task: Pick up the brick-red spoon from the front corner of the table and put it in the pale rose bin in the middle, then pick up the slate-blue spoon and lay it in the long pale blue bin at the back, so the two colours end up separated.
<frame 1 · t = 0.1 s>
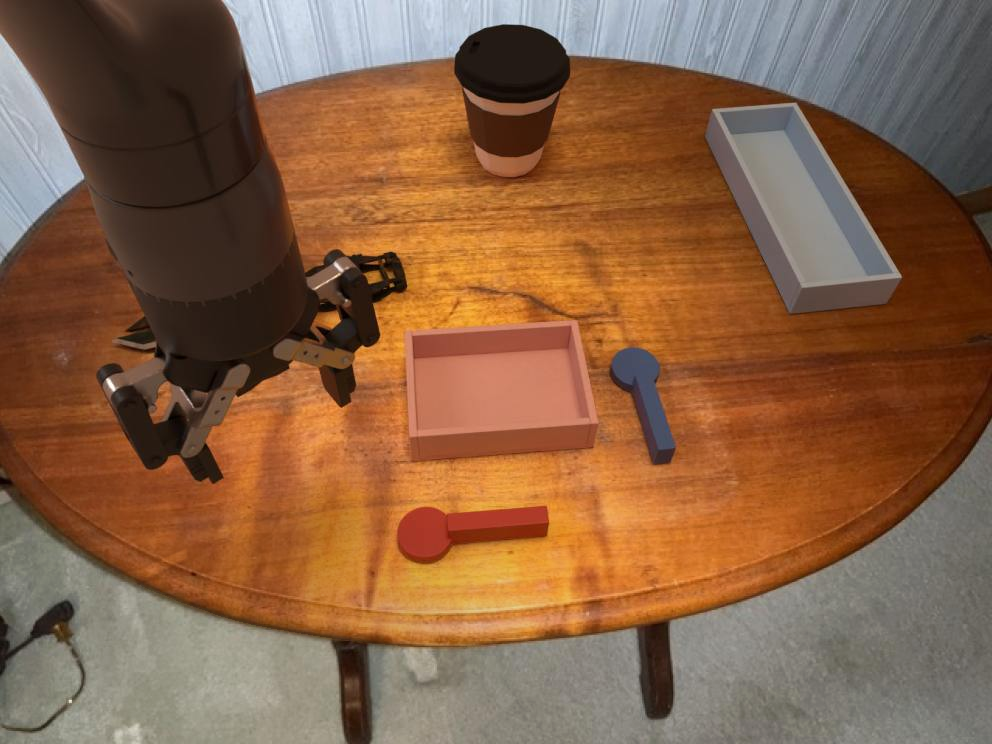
hand: (276, 432, 49), 13 cm above the table, tool pointing down, fingers open, 8 cm apart
coffee cup: (508, 159, 85), on the table
knife: (265, 311, 72), on the table
red spoon: (475, 533, 60), on the table
blue spoon: (644, 408, 67), on the table
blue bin: (787, 213, 81), on the table
rose bin: (496, 400, 67), on the table
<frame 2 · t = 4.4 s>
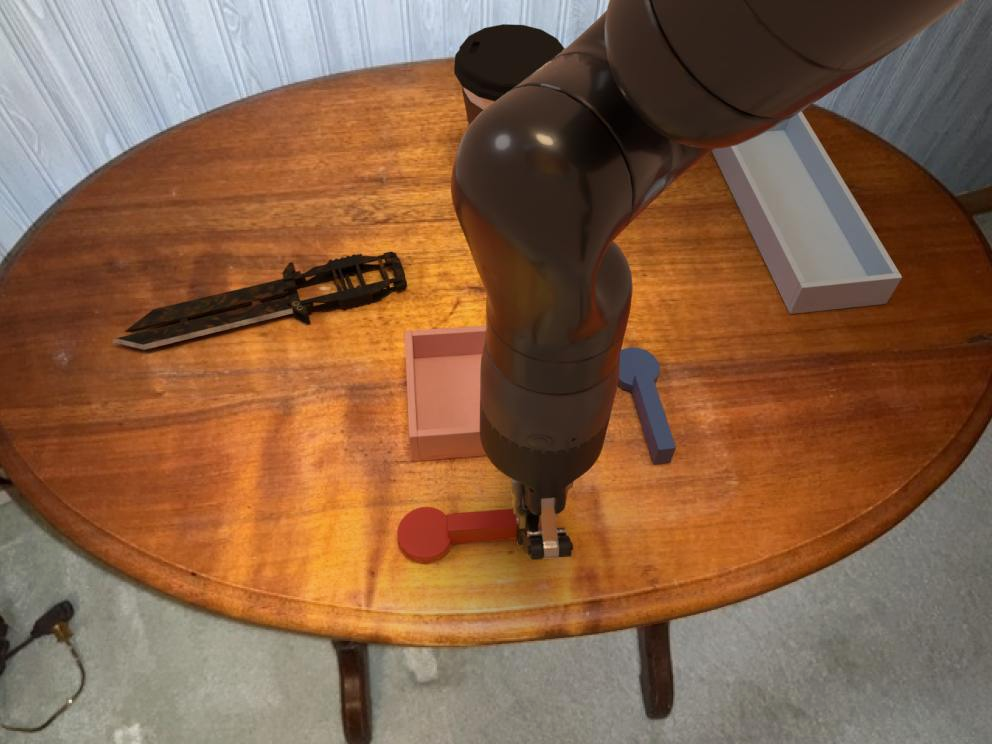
hand: (529, 527, 60), 0 cm above the table, tool pointing down, fingers closed on red spoon, 1 cm apart
red spoon: (475, 533, 60), on the table, touching gripper
everything else where it was.
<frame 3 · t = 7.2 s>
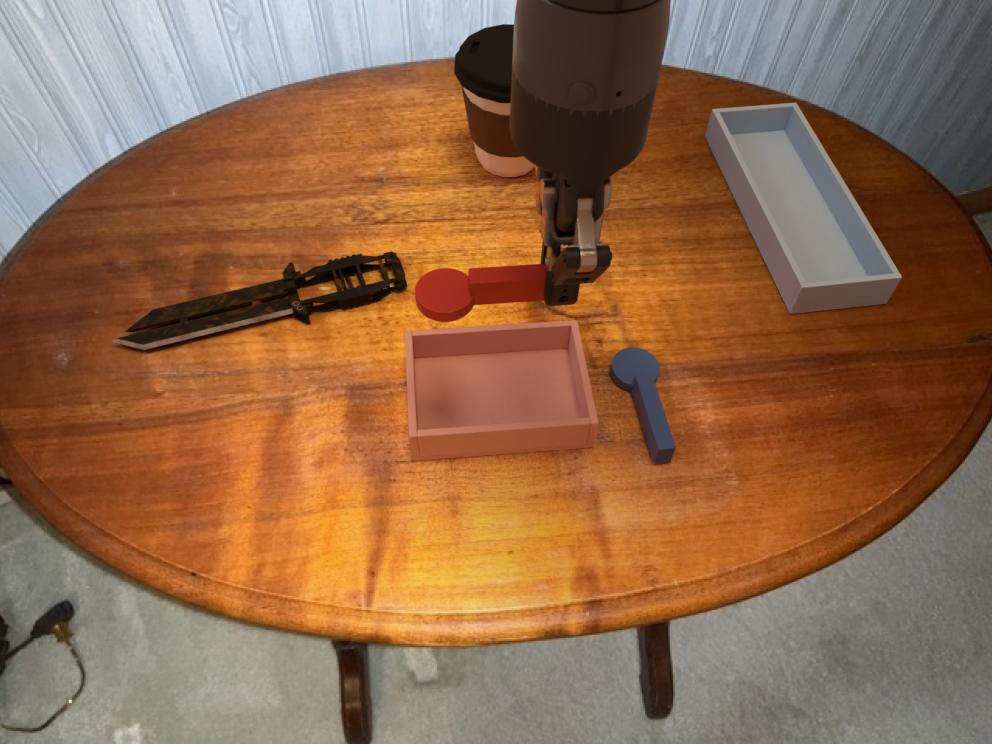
hand: (557, 289, 55), 14 cm above the table, tool pointing down, fingers closed on red spoon, 1 cm apart
red spoon: (498, 296, 55), point 14 cm above the table, touching gripper
everything else where it was.
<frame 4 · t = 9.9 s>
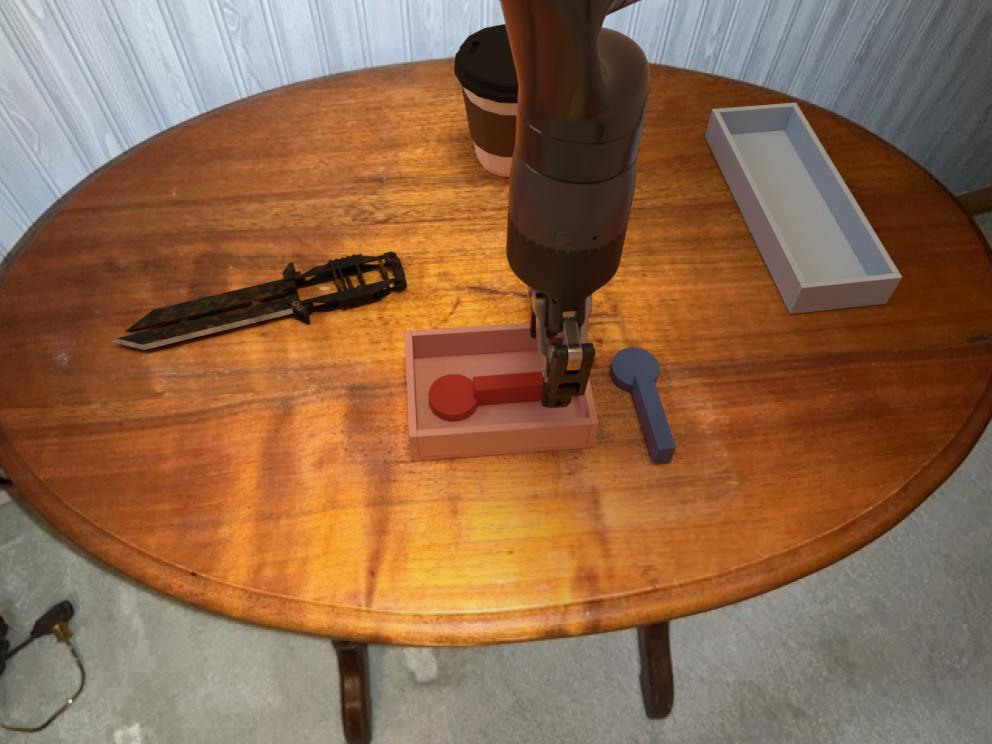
hand: (549, 367, 64), 4 cm above the table, tool pointing down, fingers open, 6 cm apart
red spoon: (498, 397, 66), resting on rose bin
everything else where it was.
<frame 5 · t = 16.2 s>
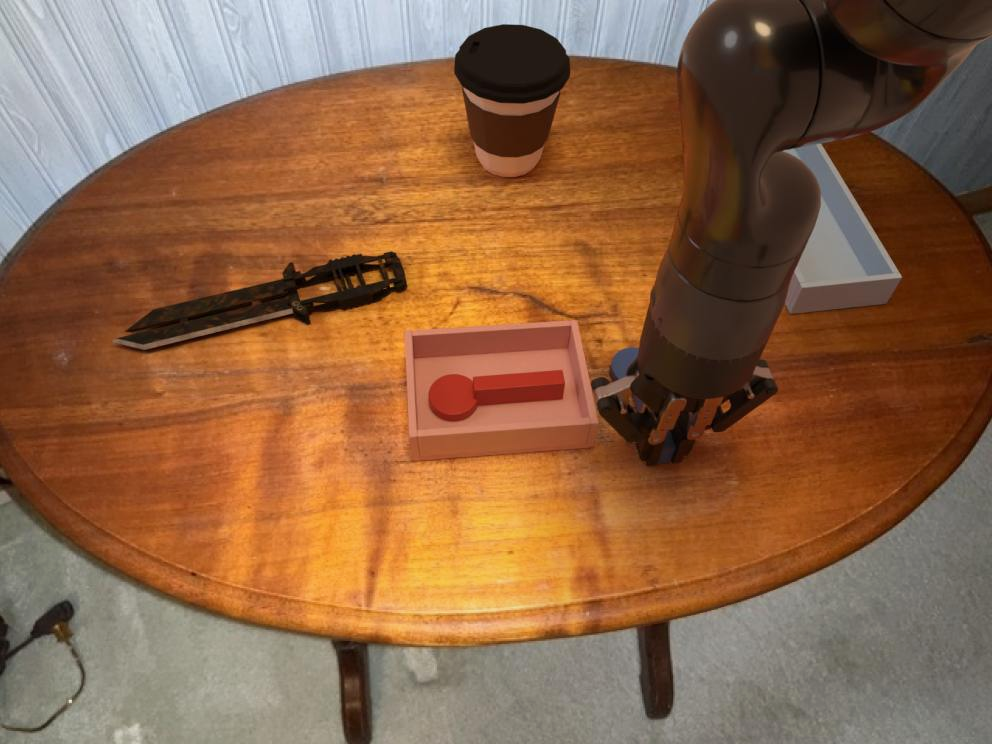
hand: (660, 454, 64), 0 cm above the table, tool pointing down, fingers closed on blue spoon, 1 cm apart
blue spoon: (644, 408, 67), on the table, touching gripper
everything else where it was.
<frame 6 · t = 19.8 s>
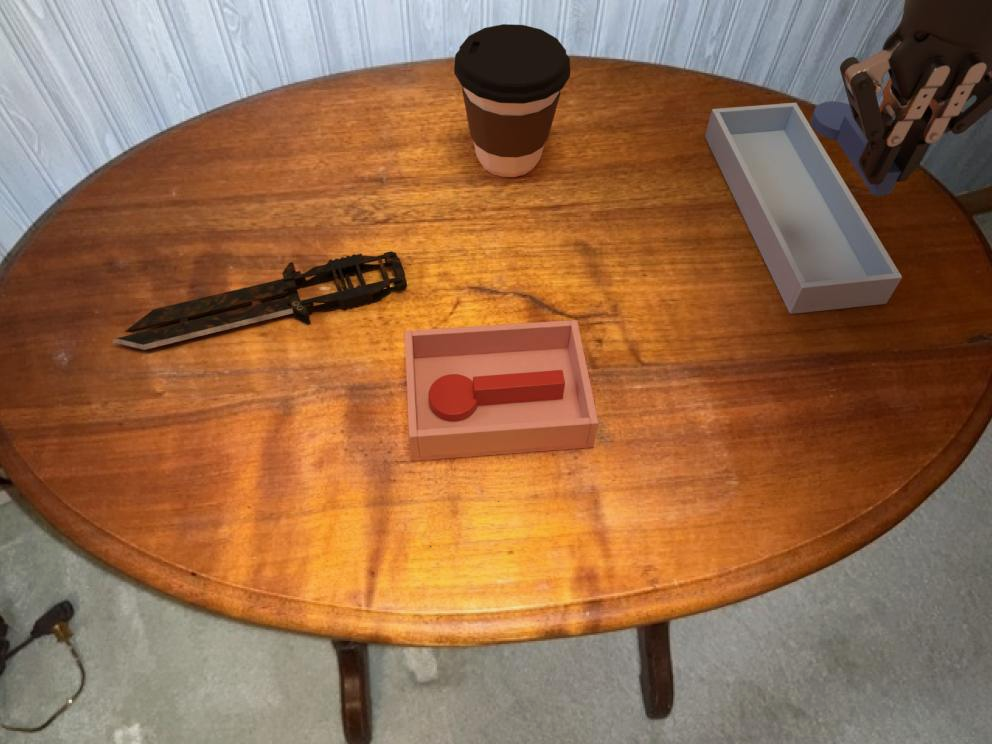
hand: (882, 175, 62), 15 cm above the table, tool pointing down, fingers closed on blue spoon, 1 cm apart
blue spoon: (853, 153, 65), point 13 cm above the table, touching gripper
everything else where it was.
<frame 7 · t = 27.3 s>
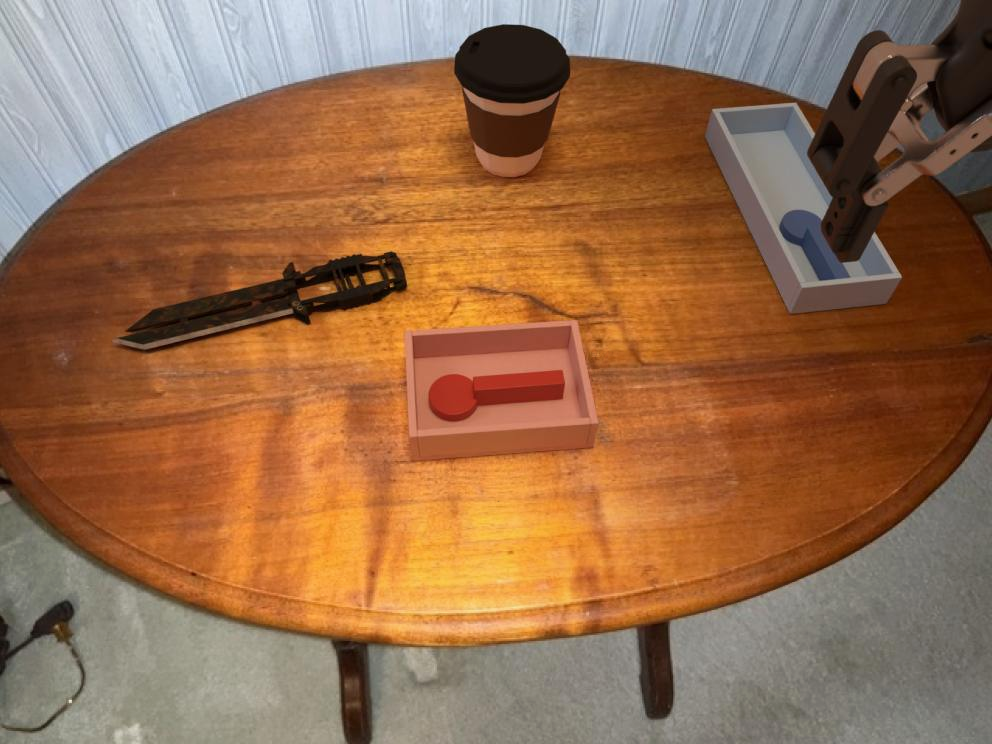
hand: (925, 241, 39), 28 cm above the table, tool pointing down, fingers open, 8 cm apart
blue spoon: (814, 258, 77), resting on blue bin
everything else where it was.
at the end: red spoon 0.1 cm off-centre in the rose bin, point 0.5 cm above the rose bin's base; blue spoon inside the target area in the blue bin (3.4 cm from its centre), point 0.5 cm above the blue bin's base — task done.
